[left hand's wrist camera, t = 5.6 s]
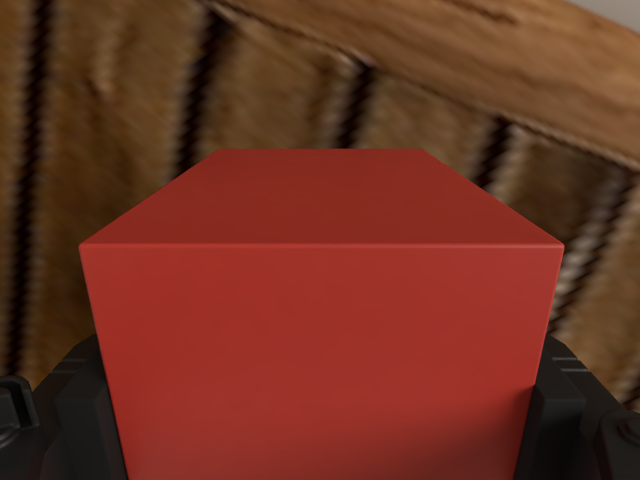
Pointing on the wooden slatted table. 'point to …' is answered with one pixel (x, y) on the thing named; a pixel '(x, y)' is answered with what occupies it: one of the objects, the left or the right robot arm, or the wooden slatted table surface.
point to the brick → (321, 320)
